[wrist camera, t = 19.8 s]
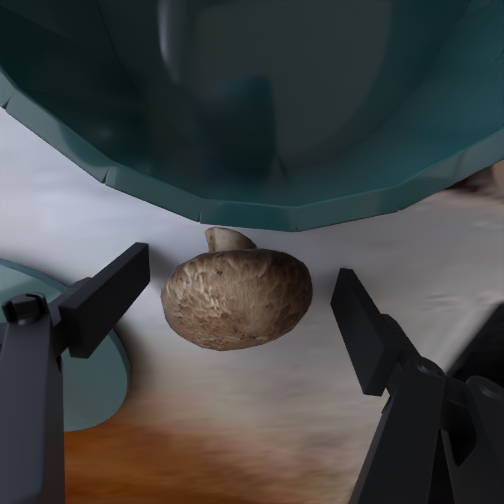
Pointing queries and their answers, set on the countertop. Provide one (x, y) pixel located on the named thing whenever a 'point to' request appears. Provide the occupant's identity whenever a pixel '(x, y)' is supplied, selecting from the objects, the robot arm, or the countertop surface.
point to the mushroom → (236, 294)
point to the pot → (262, 100)
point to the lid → (76, 369)
